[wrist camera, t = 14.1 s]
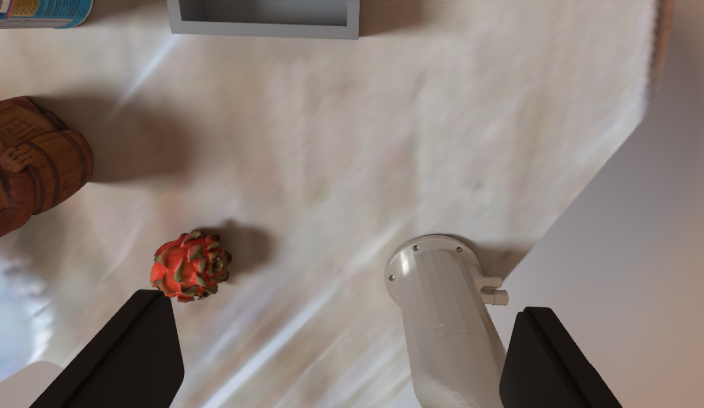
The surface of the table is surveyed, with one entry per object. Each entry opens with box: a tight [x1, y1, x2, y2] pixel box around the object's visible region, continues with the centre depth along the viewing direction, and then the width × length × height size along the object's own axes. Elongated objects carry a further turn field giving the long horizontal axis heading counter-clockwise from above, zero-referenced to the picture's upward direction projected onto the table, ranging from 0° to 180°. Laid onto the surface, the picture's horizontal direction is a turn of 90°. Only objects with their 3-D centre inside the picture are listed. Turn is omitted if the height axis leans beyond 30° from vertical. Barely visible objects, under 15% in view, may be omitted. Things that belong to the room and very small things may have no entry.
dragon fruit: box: [150, 230, 232, 303], centre depth 47 cm, size 8×8×12 cm
